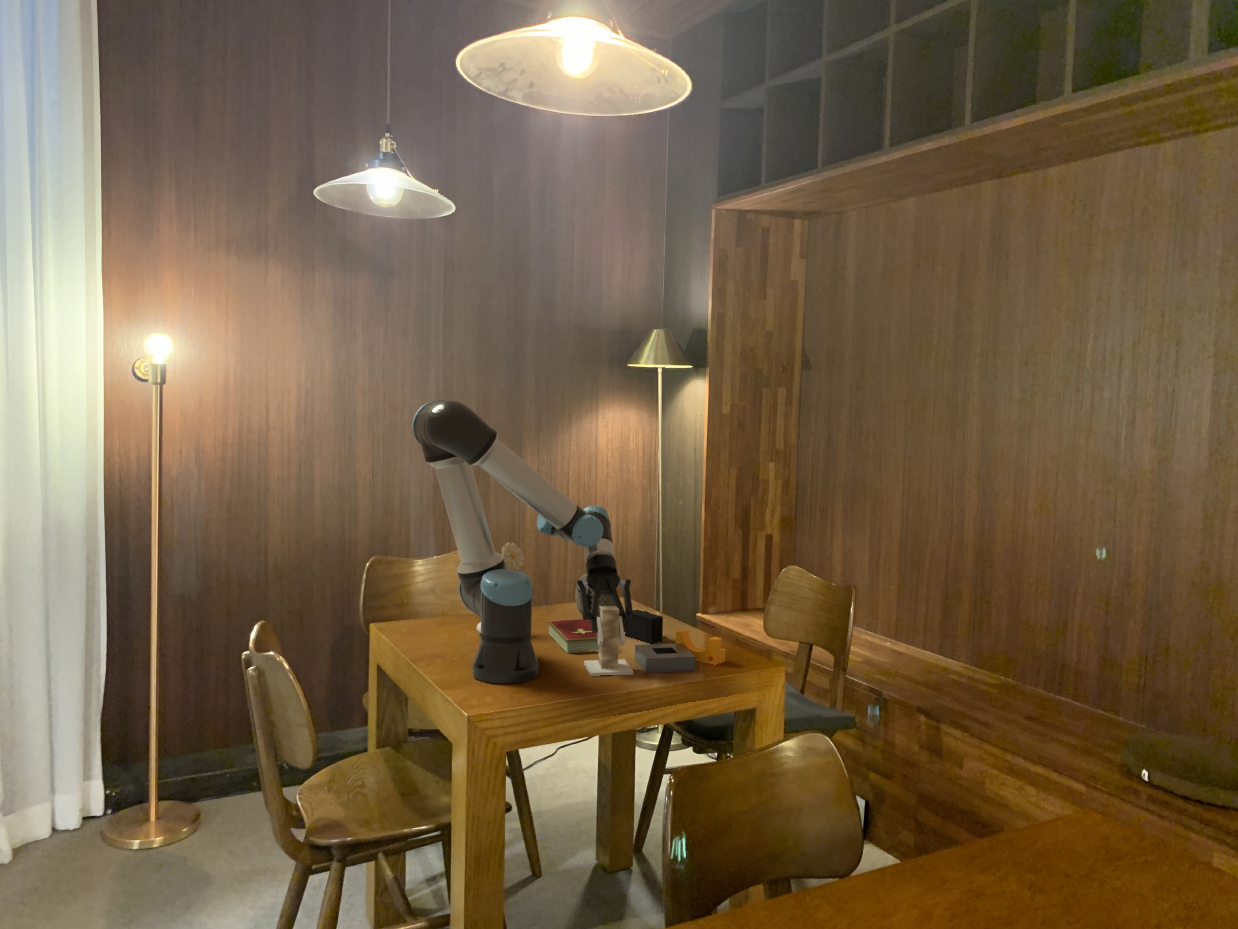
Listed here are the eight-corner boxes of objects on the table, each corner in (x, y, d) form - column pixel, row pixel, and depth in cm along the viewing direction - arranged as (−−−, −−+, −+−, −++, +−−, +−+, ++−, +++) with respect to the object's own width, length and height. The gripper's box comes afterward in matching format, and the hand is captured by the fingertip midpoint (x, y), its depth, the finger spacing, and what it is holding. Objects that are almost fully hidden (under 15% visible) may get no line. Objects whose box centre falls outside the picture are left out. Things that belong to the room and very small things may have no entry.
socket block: (645, 673, 211) (646, 658, 211) (634, 658, 222) (635, 644, 222) (694, 671, 213) (695, 656, 213) (681, 657, 225) (681, 643, 225)
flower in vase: (486, 641, 236) (487, 547, 234) (469, 631, 245) (470, 541, 243) (531, 635, 242) (532, 544, 241) (513, 626, 252) (514, 538, 250)
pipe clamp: (725, 662, 222) (725, 636, 221) (715, 666, 218) (715, 640, 218) (685, 653, 229) (686, 628, 229) (675, 656, 226) (676, 631, 226)
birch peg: (601, 668, 211) (602, 610, 210) (598, 664, 215) (599, 606, 214) (617, 668, 212) (619, 609, 211) (614, 663, 216) (615, 606, 215)
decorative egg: (619, 616, 266) (620, 566, 265) (607, 626, 255) (608, 573, 254) (582, 613, 269) (583, 563, 268) (568, 622, 258) (569, 570, 257)
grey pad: (590, 676, 207) (591, 673, 207) (584, 663, 217) (584, 660, 217) (633, 674, 209) (633, 671, 209) (624, 662, 219) (624, 659, 219)
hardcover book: (589, 632, 249) (589, 617, 249) (611, 652, 229) (612, 636, 229) (547, 634, 246) (547, 619, 245) (566, 655, 226) (566, 639, 225)
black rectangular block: (666, 641, 240) (666, 615, 239) (651, 644, 236) (652, 618, 236) (639, 633, 247) (640, 608, 247) (625, 636, 244) (625, 611, 243)
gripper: (632, 569, 229) (645, 650, 214) (564, 570, 225) (572, 653, 210) (637, 552, 223) (651, 634, 208) (567, 553, 220) (576, 636, 205)
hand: (611, 643), depth 209 cm, fingers open, 4 cm apart
